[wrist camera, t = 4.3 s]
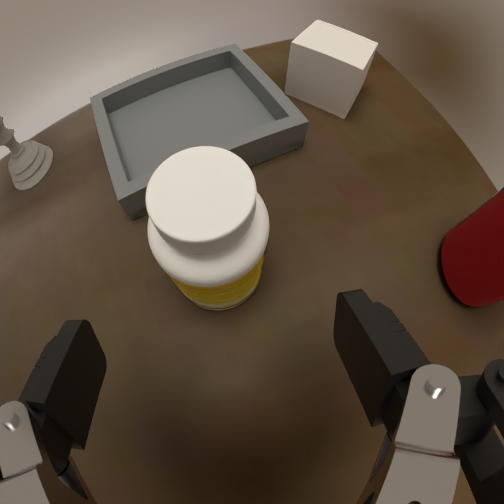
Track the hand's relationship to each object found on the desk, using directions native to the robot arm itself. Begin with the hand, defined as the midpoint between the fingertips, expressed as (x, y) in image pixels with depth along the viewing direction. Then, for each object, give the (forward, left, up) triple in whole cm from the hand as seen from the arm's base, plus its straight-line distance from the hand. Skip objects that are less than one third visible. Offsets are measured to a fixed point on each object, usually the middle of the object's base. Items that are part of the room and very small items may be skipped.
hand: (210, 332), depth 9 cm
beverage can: (+19, -5, -10) cm, 21 cm away
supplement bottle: (+2, +4, -10) cm, 11 cm away
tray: (+5, +16, -9) cm, 20 cm away
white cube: (+18, +16, -10) cm, 26 cm away
